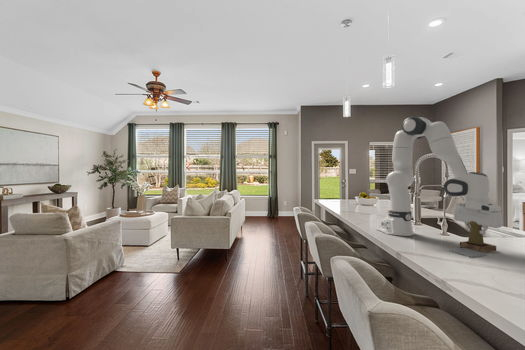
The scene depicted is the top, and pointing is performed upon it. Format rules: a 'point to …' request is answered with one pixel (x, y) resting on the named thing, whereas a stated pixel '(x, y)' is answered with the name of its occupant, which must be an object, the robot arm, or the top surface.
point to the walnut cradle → (478, 247)
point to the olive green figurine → (475, 233)
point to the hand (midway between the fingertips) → (475, 232)
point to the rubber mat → (467, 252)
